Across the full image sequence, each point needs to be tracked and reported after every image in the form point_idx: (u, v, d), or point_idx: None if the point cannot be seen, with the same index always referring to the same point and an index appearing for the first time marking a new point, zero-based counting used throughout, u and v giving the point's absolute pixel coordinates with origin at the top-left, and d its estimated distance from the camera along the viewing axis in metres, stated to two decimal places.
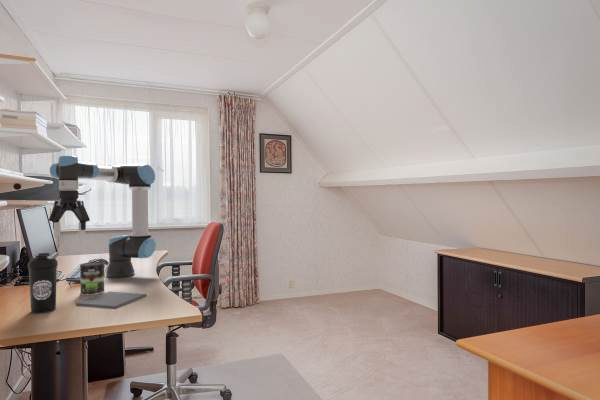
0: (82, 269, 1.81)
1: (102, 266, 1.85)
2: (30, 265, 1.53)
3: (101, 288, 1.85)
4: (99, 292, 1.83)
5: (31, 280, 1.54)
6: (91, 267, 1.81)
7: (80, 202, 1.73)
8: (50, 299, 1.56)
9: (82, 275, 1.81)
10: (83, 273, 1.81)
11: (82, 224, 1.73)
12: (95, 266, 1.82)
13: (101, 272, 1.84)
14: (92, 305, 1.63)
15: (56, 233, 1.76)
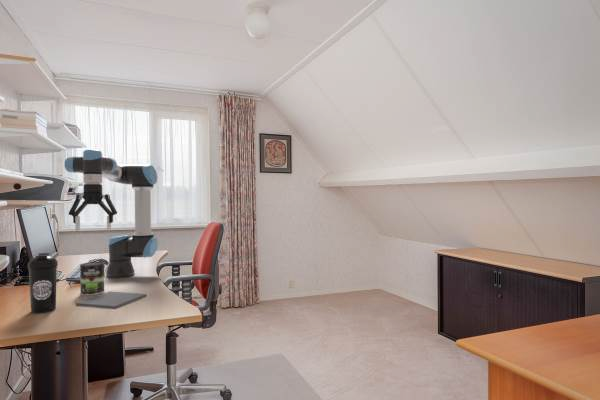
0: (82, 269, 1.81)
1: (102, 266, 1.85)
2: (30, 265, 1.53)
3: (101, 288, 1.85)
4: (99, 292, 1.83)
5: (31, 280, 1.54)
6: (91, 267, 1.81)
7: (108, 196, 1.77)
8: (50, 299, 1.56)
9: (82, 275, 1.81)
10: (83, 273, 1.81)
11: (110, 217, 1.77)
12: (95, 266, 1.82)
13: (101, 272, 1.84)
14: (92, 305, 1.63)
15: (77, 227, 1.75)
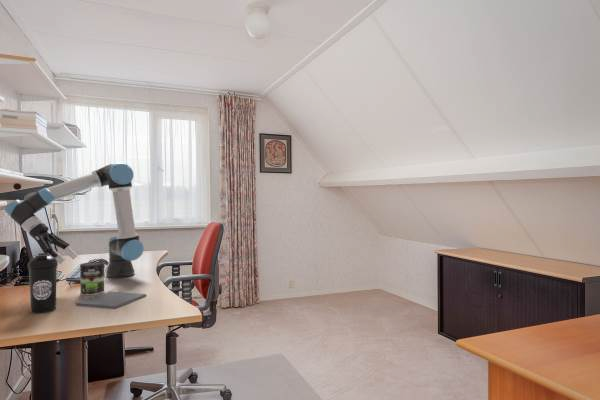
0: (82, 269, 1.81)
1: (102, 266, 1.85)
2: (30, 265, 1.53)
3: (101, 288, 1.85)
4: (99, 292, 1.83)
5: (31, 280, 1.54)
6: (91, 267, 1.81)
7: (35, 238, 1.76)
8: (50, 299, 1.56)
9: (82, 275, 1.81)
10: (83, 273, 1.81)
11: None
12: (95, 266, 1.82)
13: (101, 272, 1.84)
14: (92, 305, 1.63)
15: (71, 256, 1.90)
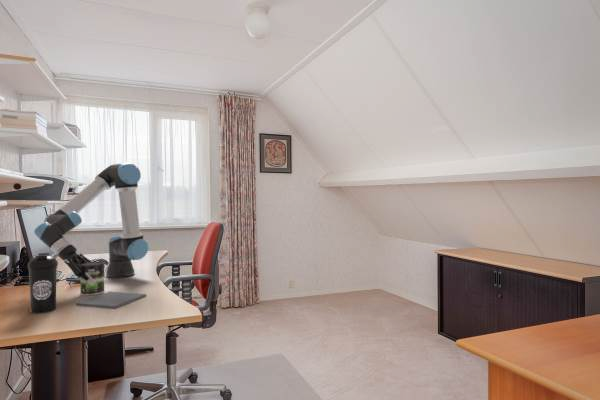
0: None
1: (102, 266, 1.85)
2: (30, 265, 1.53)
3: (101, 288, 1.85)
4: (99, 292, 1.83)
5: (31, 280, 1.54)
6: (91, 267, 1.81)
7: (66, 261, 1.78)
8: (50, 299, 1.56)
9: None
10: None
11: None
12: (95, 266, 1.82)
13: (101, 272, 1.84)
14: (92, 305, 1.63)
15: None
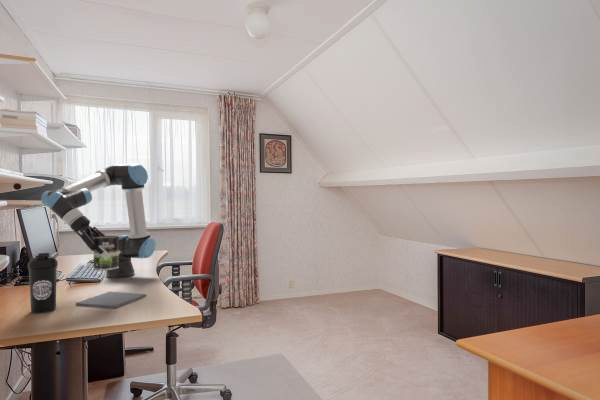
0: None
1: (117, 239, 1.72)
2: (30, 265, 1.53)
3: (116, 263, 1.71)
4: (113, 267, 1.70)
5: (31, 280, 1.54)
6: (105, 240, 1.68)
7: (78, 233, 1.65)
8: (50, 299, 1.56)
9: None
10: None
11: None
12: (110, 239, 1.69)
13: (115, 246, 1.71)
14: (92, 305, 1.63)
15: None
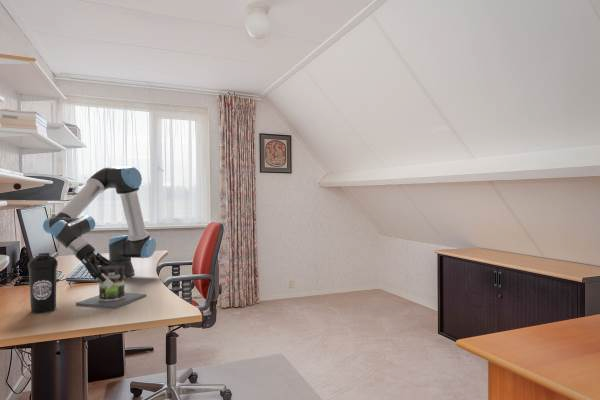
0: (101, 272, 1.68)
1: (122, 269, 1.72)
2: (30, 265, 1.53)
3: (121, 293, 1.71)
4: (119, 297, 1.70)
5: (31, 280, 1.54)
6: (111, 270, 1.68)
7: (83, 261, 1.64)
8: (50, 299, 1.56)
9: None
10: None
11: None
12: (115, 269, 1.68)
13: (121, 276, 1.71)
14: (92, 305, 1.63)
15: None
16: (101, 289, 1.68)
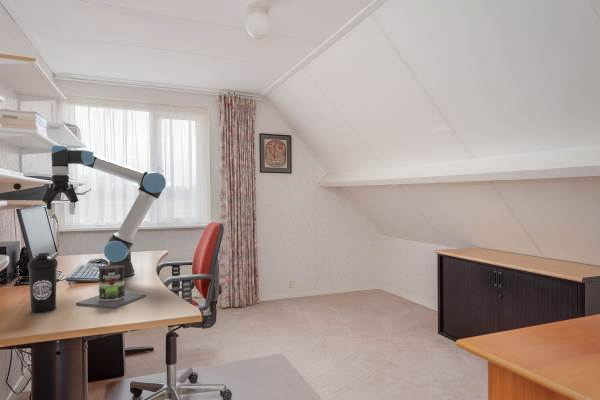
0: (101, 272, 1.68)
1: (122, 269, 1.72)
2: (30, 265, 1.53)
3: (121, 293, 1.71)
4: (119, 297, 1.70)
5: (31, 280, 1.54)
6: (111, 270, 1.68)
7: (48, 185, 1.98)
8: (50, 299, 1.56)
9: (101, 279, 1.68)
10: (102, 276, 1.68)
11: None
12: (115, 269, 1.68)
13: (121, 276, 1.71)
14: (92, 305, 1.63)
15: (70, 211, 2.11)
16: (101, 289, 1.68)
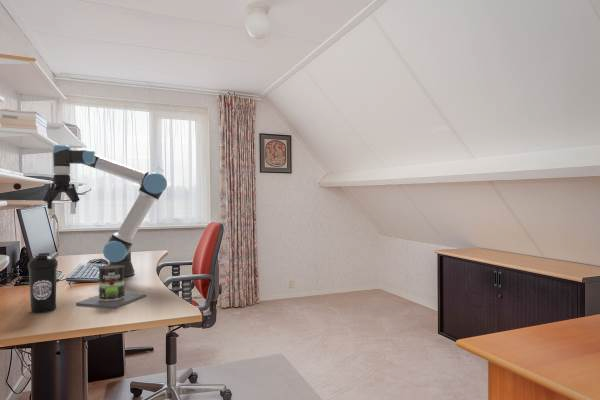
0: (101, 272, 1.68)
1: (122, 269, 1.72)
2: (30, 265, 1.53)
3: (121, 293, 1.71)
4: (119, 297, 1.70)
5: (31, 280, 1.54)
6: (111, 270, 1.68)
7: (50, 184, 1.99)
8: (50, 299, 1.56)
9: (101, 279, 1.68)
10: (102, 276, 1.68)
11: None
12: (115, 269, 1.68)
13: (121, 276, 1.71)
14: (92, 305, 1.63)
15: (71, 211, 2.12)
16: (101, 289, 1.68)
